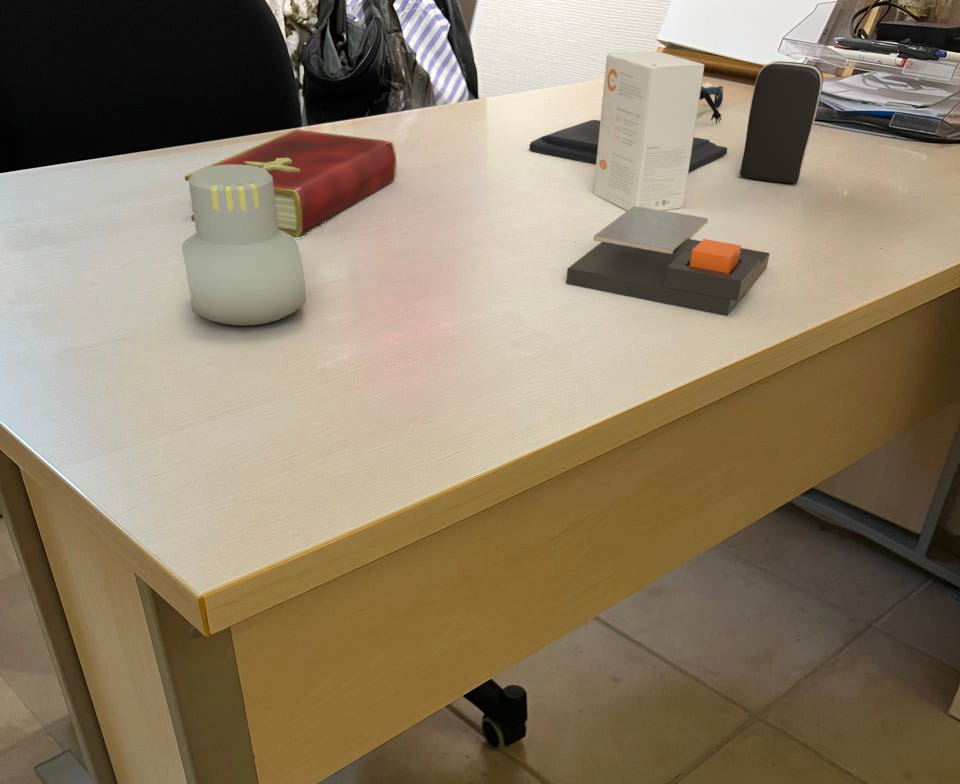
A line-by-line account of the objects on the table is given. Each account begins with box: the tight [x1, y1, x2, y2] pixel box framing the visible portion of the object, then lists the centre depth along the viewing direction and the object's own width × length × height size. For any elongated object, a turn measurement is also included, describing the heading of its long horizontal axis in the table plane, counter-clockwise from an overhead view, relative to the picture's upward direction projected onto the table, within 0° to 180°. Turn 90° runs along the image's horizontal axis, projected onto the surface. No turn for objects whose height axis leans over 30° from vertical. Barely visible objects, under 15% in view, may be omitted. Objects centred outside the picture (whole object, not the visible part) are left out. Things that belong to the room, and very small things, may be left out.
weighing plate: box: [593, 206, 709, 255], centre depth 82 cm, size 7×10×1 cm
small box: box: [592, 50, 705, 212], centre depth 95 cm, size 8×6×13 cm
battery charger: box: [739, 60, 824, 184], centre depth 104 cm, size 7×4×11 cm, turn 66°
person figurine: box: [699, 82, 724, 125], centre depth 130 cm, size 11×4×18 cm
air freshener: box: [181, 165, 307, 327], centre depth 70 cm, size 11×8×10 cm
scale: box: [565, 238, 770, 317], centre depth 81 cm, size 14×13×3 cm
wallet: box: [528, 119, 728, 173], centre depth 114 cm, size 20×2×15 cm
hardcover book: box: [184, 129, 397, 238], centre depth 95 cm, size 12×21×4 cm, turn 159°
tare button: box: [690, 238, 742, 274], centre depth 76 cm, size 3×3×2 cm
